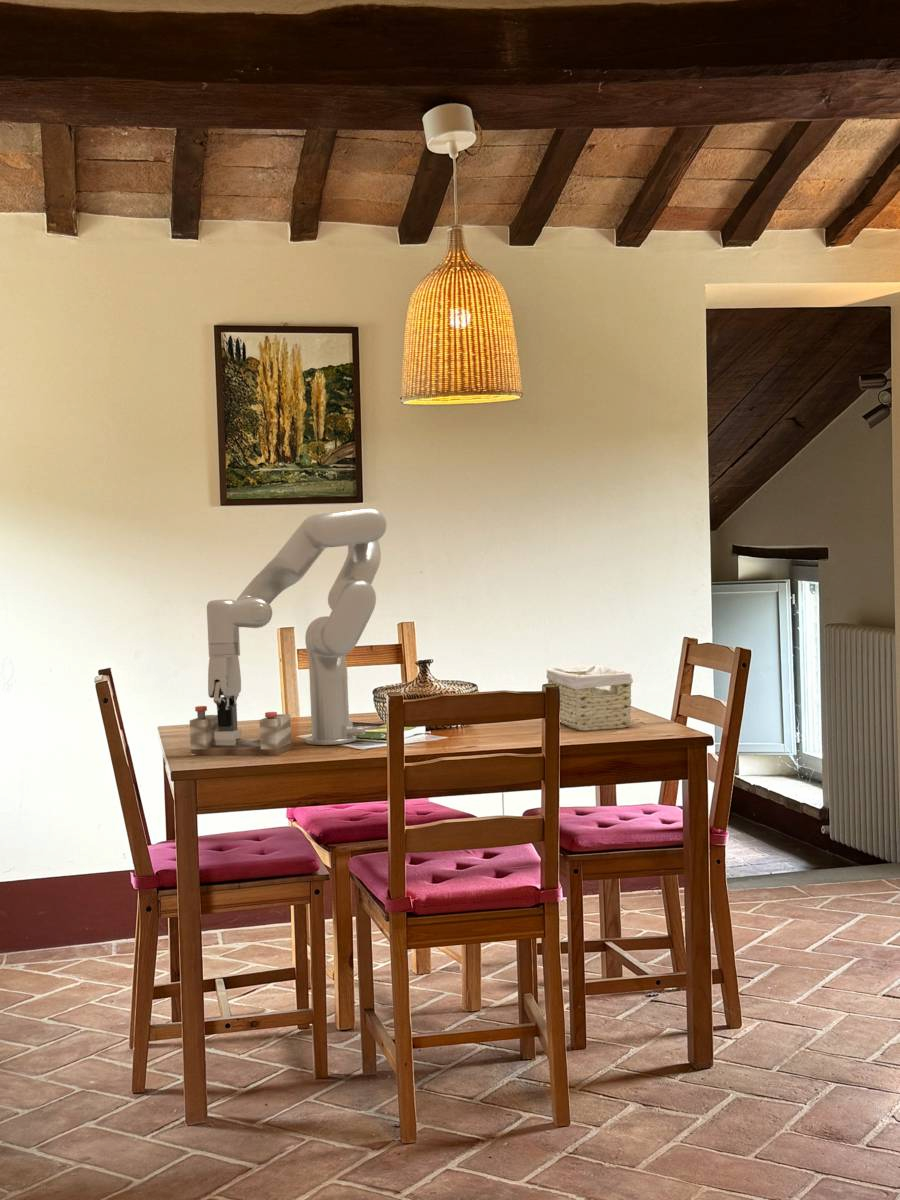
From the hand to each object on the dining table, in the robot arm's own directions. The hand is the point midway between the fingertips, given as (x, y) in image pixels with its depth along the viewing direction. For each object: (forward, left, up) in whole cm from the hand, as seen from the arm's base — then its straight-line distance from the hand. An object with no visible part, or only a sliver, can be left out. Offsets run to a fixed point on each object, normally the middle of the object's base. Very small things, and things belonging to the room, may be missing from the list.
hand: (227, 724), depth 316 cm
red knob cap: (-12, +3, 0) cm, 13 cm away
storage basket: (-83, -45, -7) cm, 94 cm away
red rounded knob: (+6, +3, +2) cm, 6 cm away
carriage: (0, 0, -5) cm, 5 cm away
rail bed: (-3, 0, -7) cm, 7 cm away
